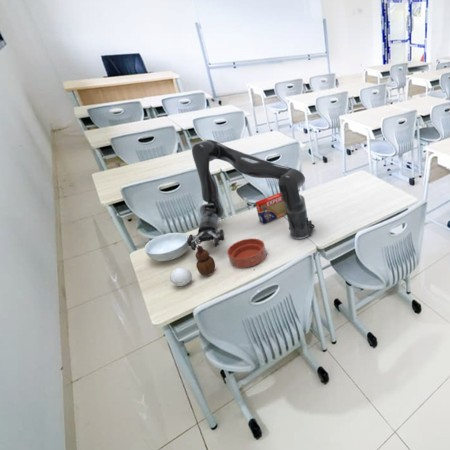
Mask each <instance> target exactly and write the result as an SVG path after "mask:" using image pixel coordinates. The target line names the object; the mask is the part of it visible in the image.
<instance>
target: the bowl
mask: <svg viewBox="0 0 450 450" xmlns="http://www.w3.org/2000/svg"><path fill="white" fill-rule="evenodd" d="M226 254H227V257H228V260H229V263H230V264H231V265H232V266H233V267H235V268H249V267H253V266H256V265H259V263H261V262H262V261H264V260H265V259H266V257H267V249H266V245H265V242H264V241H263V240H261V239H260V238H246V239H240V240H238V241H236V242H234V243H233V244H231V245H230V246H229V247H228V249H227V253H226Z"/></svg>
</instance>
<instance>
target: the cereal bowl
mask: <svg viewBox="0 0 450 450" xmlns="http://www.w3.org/2000/svg"><path fill="white" fill-rule="evenodd" d="M188 238H189V236H188V235H187V234H185V233H183V232H169V233H163V234H161V235H157V236H156V237H154V238H152V239H150V240H149V241H148V242H147V243H146V244H145V246H144V252H145V253H146V255H147V257H148V258H150V259H151V260H154V261H158V262H168V261H173V260H175V259H177V258H179V257H181V256H183V255H184V254H185V253H186V252H187V251H188V249H189V247H190V246H189V245H188V243H187V240H188Z"/></svg>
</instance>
